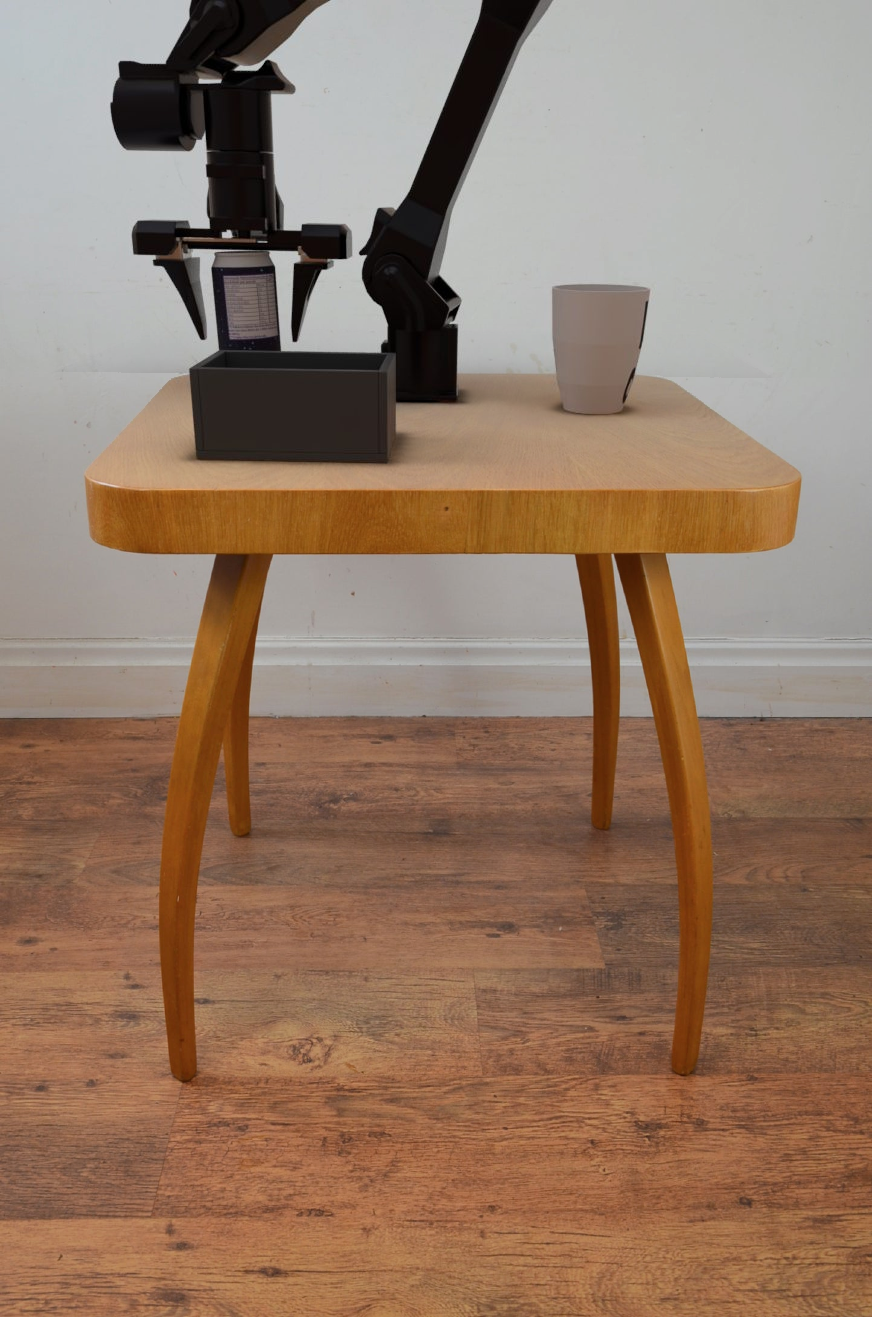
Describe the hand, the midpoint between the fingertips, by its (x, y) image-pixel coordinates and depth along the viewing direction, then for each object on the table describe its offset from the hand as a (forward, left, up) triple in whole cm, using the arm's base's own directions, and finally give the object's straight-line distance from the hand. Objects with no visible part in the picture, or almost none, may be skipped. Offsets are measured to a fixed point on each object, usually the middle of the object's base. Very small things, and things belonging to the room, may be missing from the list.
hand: (249, 340), depth 96 cm
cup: (-31, +7, -5) cm, 32 cm away
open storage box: (-8, +24, -4) cm, 26 cm away
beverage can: (0, 0, -5) cm, 5 cm away
